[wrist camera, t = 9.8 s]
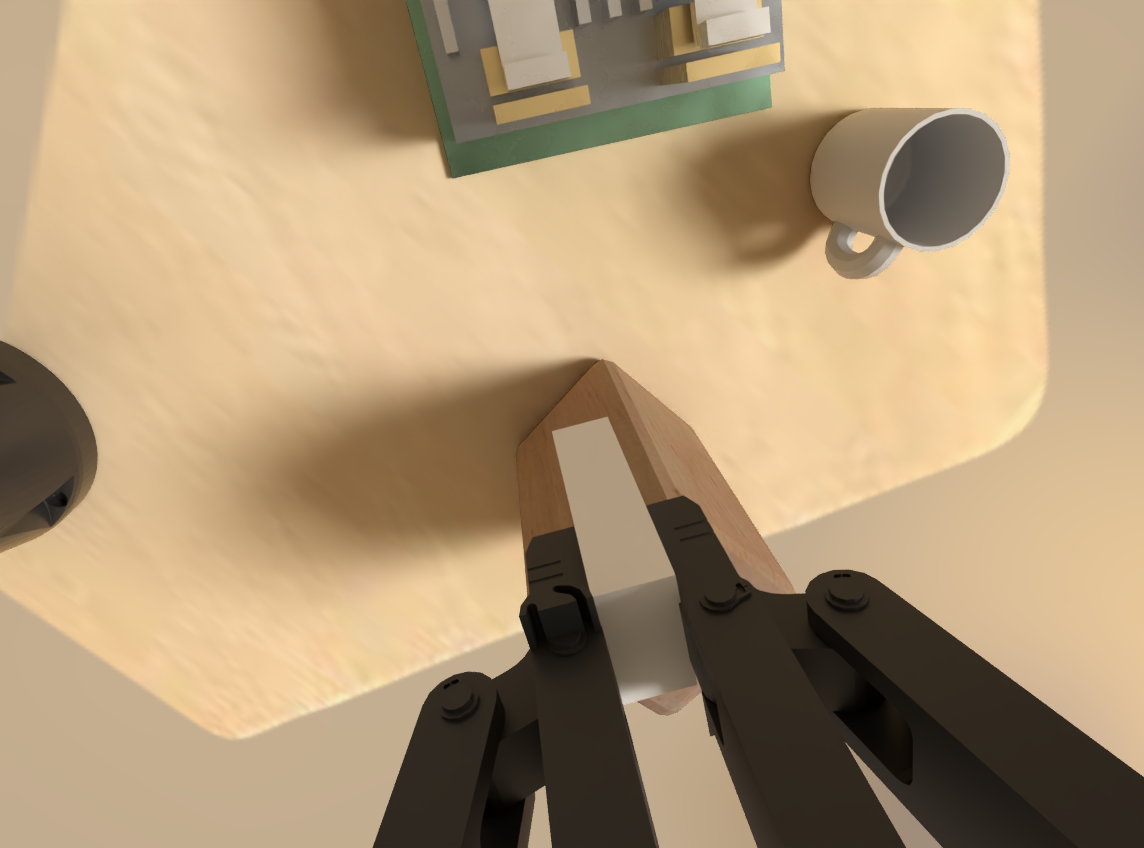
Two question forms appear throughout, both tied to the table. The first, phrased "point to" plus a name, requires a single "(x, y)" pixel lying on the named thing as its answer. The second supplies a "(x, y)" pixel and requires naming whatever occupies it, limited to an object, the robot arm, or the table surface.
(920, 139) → the cup
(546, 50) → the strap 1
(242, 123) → the table surface
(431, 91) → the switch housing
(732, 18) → the silver long flat bar
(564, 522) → the wooden block
